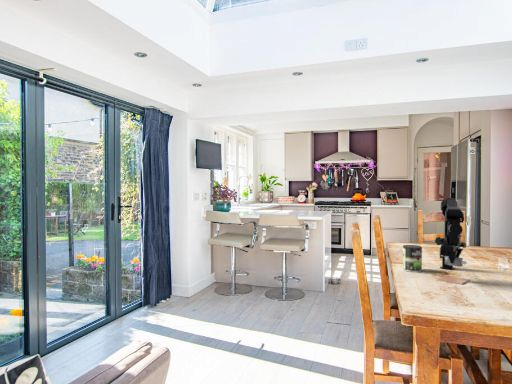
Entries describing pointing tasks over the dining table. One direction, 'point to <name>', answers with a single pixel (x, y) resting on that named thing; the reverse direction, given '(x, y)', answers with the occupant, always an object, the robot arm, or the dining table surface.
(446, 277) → the plate
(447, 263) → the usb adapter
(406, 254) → the coffee can
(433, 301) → the dining table surface
